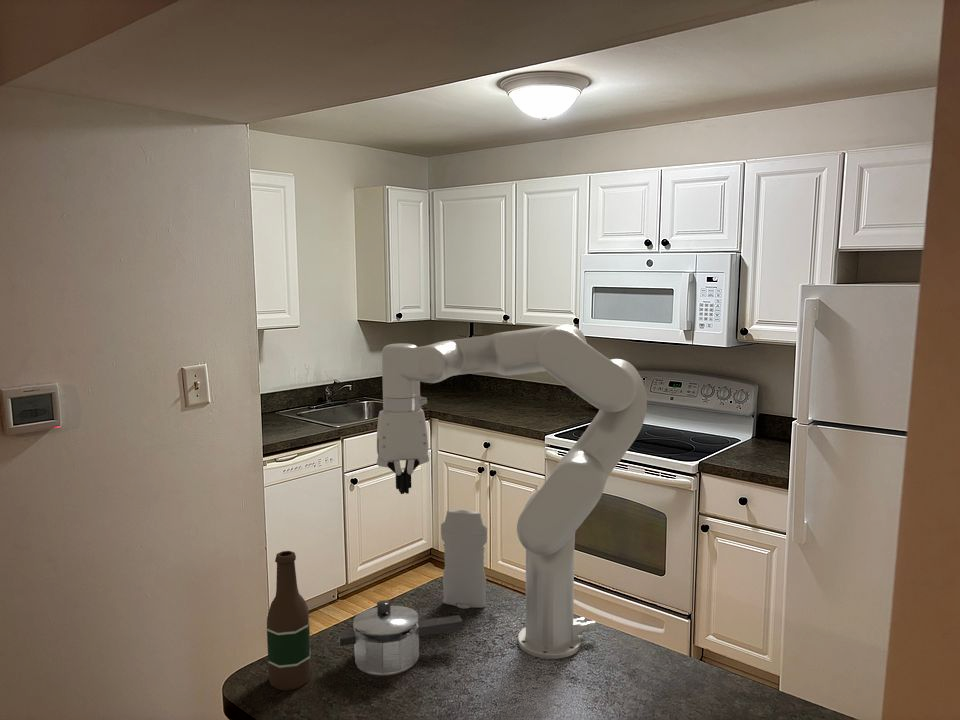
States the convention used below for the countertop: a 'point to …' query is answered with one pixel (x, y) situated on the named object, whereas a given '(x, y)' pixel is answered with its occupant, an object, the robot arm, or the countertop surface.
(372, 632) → the lid
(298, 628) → the beer bottle
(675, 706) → the countertop surface
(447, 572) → the tall pale column
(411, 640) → the pot
